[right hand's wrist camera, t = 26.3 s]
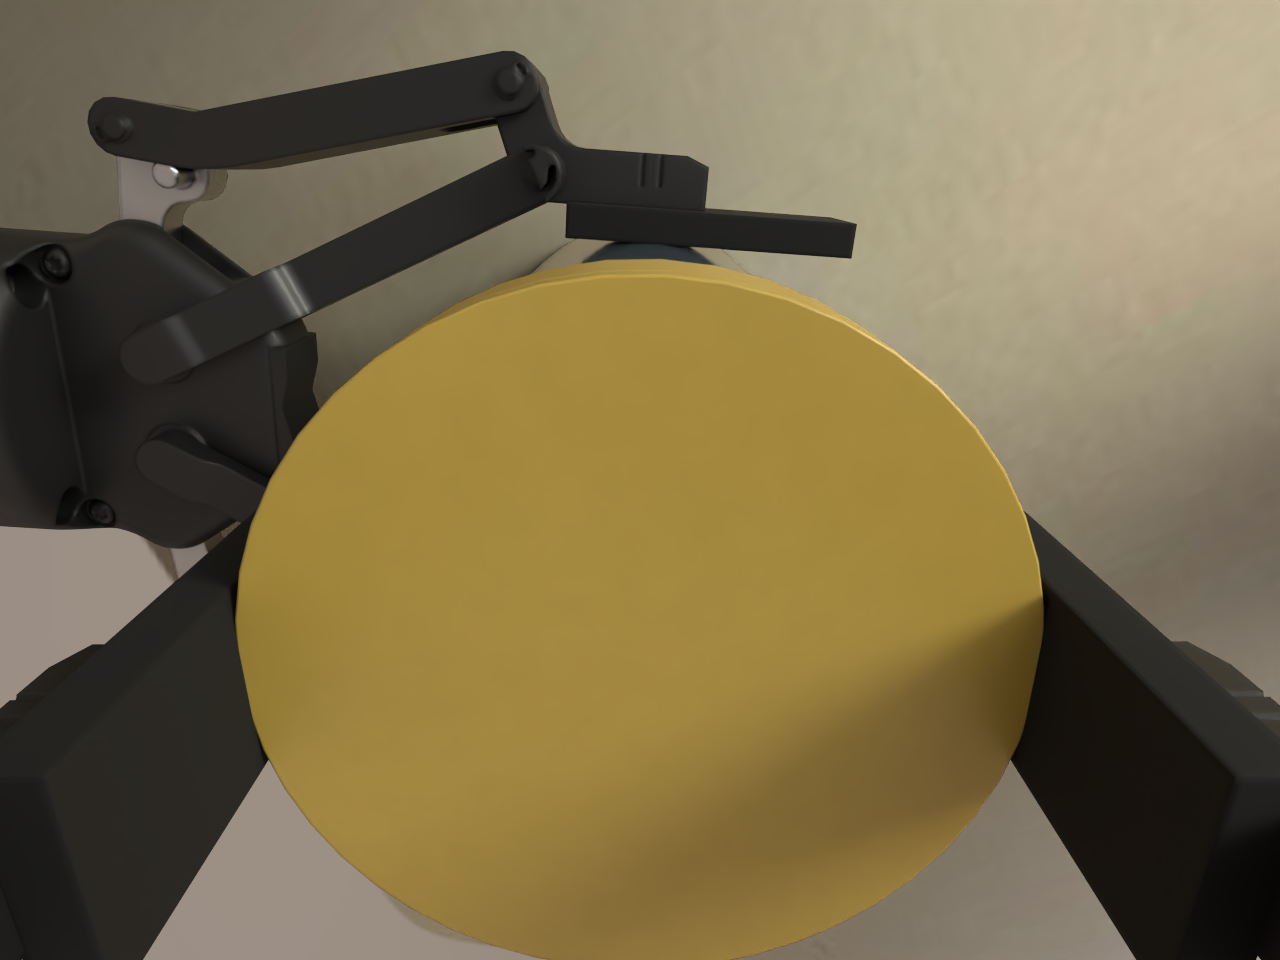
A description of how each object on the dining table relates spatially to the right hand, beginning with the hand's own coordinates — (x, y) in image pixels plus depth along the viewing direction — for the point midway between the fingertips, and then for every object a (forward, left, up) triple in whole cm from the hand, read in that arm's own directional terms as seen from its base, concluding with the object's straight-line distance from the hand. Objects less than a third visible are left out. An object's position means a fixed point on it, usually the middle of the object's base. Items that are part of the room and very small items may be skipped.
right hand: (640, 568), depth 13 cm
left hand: (-1, +4, -8) cm, 10 cm away
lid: (0, 0, +3) cm, 3 cm away
